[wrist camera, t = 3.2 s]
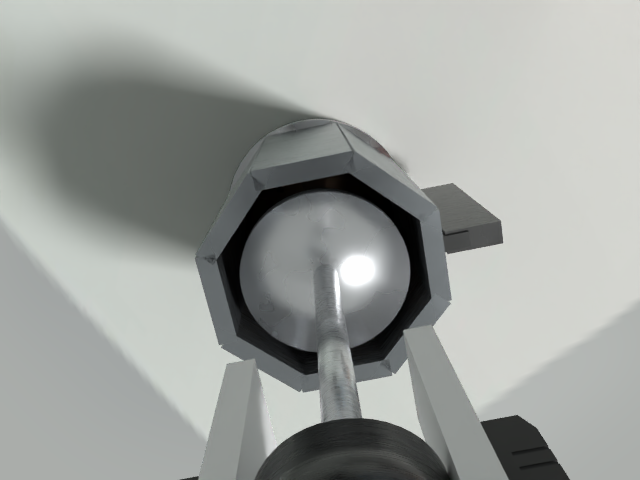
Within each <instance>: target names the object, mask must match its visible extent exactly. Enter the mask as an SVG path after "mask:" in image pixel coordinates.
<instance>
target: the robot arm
mask: <svg viewBox="0 0 640 480" xmlns="http://www.w3.org/2000/svg"><path fill="white" fill-rule="evenodd" d="M403 333H404V339H405V345H406V351H407V357H408V363H409V368H410V374H411V380H412V386H413V392H414V398H415V404H416V410H417V416H418V420H419V423H420V426H421V429H422V432H423V435H424V438H425V441H426V443H427V444H428V445H429V446H430V447H431V448H432V449H433V450H434V451H435V453H436V454H437V455H438V456H439V458H440V459H441V461H442V463H443V464H444V466H445V468H446V470H447V473H448V475H449V478H450V480H570V479H569V478H568V476H567V475H566V473H565V471H564V470H563V468H562V467H561V465H560V464H558V462H557V459H556V457H555V456H554V454H553V453H552V451H551V450H550V449H549V448H548V445H547V443H546V442H545V440H544V439H543V437H542V436H541V434H540V433H539V431H538V429H537V428H536V427H534V426H533V425H531V424H530V423H528V422H527V421H525V420H524V419H522V418H521V417H519V416H518V415H516V416H510V417H505V418H499V419H494V420H488V421H483V422H480V421H479V419H478V417H477V415H476V413H475V411H474V409H473V407H472V405H471V403H470V401H469V399H468V397H467V395H466V393H465V391H464V389H463V387H462V385H461V383H460V381H459V379H458V377H457V375H456V373H455V371H454V369H453V367H452V365H451V363H450V361H449V359H448V357H447V355H446V353H445V351H444V349H443V347H442V345H441V343H440V341H439V339H438V337H437V335H436V333H435V331H434V329H433V327H432V325H427V326H422V327H417V328H411V329H406V330H403ZM276 448H277V442H276V438H275V434H274V430H273V426H272V423H271V419H270V415H269V411H268V407H267V403H266V400H265V396H264V392H263V388H262V384H261V380H260V376H259V373H258V369H257V365H256V361H255V359H250V360H245V361H240V362H234V363H229V364H227V365H226V369H225V374H224V378H223V382H222V386H221V390H220V394H219V398H218V402H217V406H216V410H215V414H214V418H213V422H212V426H211V430H210V434H209V438H208V442H207V446H206V450H205V454H204V458H203V462H202V466H201V471H200V474H199V476H197V477H192V478H187V479H181V480H254V479H255V477H256V475H257V472H258V470H259V469H260V467H261V466H262V464H263V462H264V461H265V460H266V458H267V457H268V456H269V455H270V454H271V453H272V451H273V450H274V449H276Z"/></svg>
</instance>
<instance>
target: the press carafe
mask: <svg viewBox="0 0 640 480" xmlns="http://www.w3.org/2000/svg"><path fill="white" fill-rule="evenodd" d="M319 188H332V189H340V190H345V191H348V192H352V193H355V194H357V195H360V196H362V197H364V198H366V199H368V200H369V201H371V202H373V203H374V204H375V205H377V206H378V207H379V208H381V209H382V210H383V211H384V212H385V213H386V214H387V215H388V216H389V218H390V219H391V220H392V222H393V223H394V224H395V226H396V228H397V229H398V231H399V233H400V235H401V236H402V238H403V240H404V243H405V246H406V248H407V252H408V256H409V261H410V282H409V287H408V291H407V294H406V297H405V300H404V302H403V304H402V306H401V308H400V310H399V312H398V313H397V315H396V316H395V318H394V319H393V320H392V321H391V323H390V324H389V325H388V326H387V327H386V328H385V329H384V330H383V331H381V332H380V333H379V334H378V335H376V336H375V337H373V338H372V339H371V340H369V341H367V342H365V343H363V344H361V345H358V346H356V347H353V348H350V351H351V356H352V362H353V368H354V374H355V380H356V382H361V381H366V380H372V379H377V378H382V377H387V376H392V372H393V373H396V372H397V371H398V370H399V368H400V367H401V366H402V364H403V363H404V362H405V361H406V359H407V358H408V357H407V351H406V345H405V339H404V333H403V330H406V329H411V328H417V327H422V326H427V325H432V326H433V325H434V324H435V323H436V321H437V320H438V319H439V318H440V316H441V315H442V314H443V313H444V311H445V310H446V309H447V307H448V306H449V305H450V304H451V303H450V302H449V301H450V300H452V299H451V292H450V285H449V278H448V270H447V263H446V256H445V252H447V254H450V253H455V252H460V251H465V250H470V249H476V248H481V247H486V246H491V245H496V244H501V243H503V237H502V227H501V221H500V220H499V219H498V218H496V217H495V216H494V215H493V214H491V213H490V212H489V211H487V210H486V209H485V208H484V207H482V206H481V205H480V204H479V203H477V202H476V201H475V200H473V199H472V198H471V197H470V196H468V195H467V194H466V193H465V192H463V191H462V190H461V189H459V188H458V187H457V186H456V185H454V184H453V183H451V184H446V185H441V186H436V187H431V188H426V189H420V188H419V187H418V186H417V185H416V184H415V183H414V182H413V181H412V180H411V179H410V178H409V177H408V176H407V175H406V174H405V173H404V171H403V170H402V169H401V168H400V167H399V166H398V165H397V164H396V163H395V162H394V160H393V159H392V158H391V156H390V155H389V154H388V152H387V151H386V150H385V149H384V148H383V147H382V146H381V145H380V144H379V143H378V142H377V141H376V140H375V139H373V138H372V137H371V136H370V135H368V134H367V133H365V132H363V131H362V130H360V129H358V128H356V127H354V126H352V125H349V124H347V123H343V122H339V121H336V120H328V119H307V120H300V121H296V122H292V123H289V124H286V125H284V126H282V127H279V128H277V129H275V130H274V131H272V132H270V133H269V134H267V135H266V136H264V137H263V138H262V139H261V140H259V141H258V142H257V143H256V144H255V145H254V146H253V147H252V148H251V149H250V150H249V152H248V153H247V154H246V156H245V157H244V158H243V160H242V162H241V163H240V165H239V167H238V169H237V171H236V173H235V175H234V178H233V181H232V184H231V188H230V192H229V195H228V197H227V199H226V201H225V203H224V204H223V206H222V208H221V210H220V212H219V213H218V215H217V217H216V219H215V221H214V222H213V224H212V226H211V228H210V230H209V231H208V233H207V235H206V237H205V239H204V240H203V242H202V244H201V246H200V248H199V249H198V251H197V253H196V257H195V260H196V264H197V267H198V271H199V275H200V278H201V282H202V285H203V289H204V293H205V296H206V300H207V303H208V307H209V310H210V314H211V318H212V321H213V325H214V328H215V332H216V336H217V339H218V343H219V345H222V347H221V348H223V349H224V350H226V351H228V352H230V353H232V354H233V355H235V356H237V357H239V358H240V359H242V360H244V361H245V360H250V359H255V361H256V365H257V368H258V369H260V370H262V371H263V372H265V373H267V374H269V375H270V376H272V377H274V378H276V379H277V380H279V381H281V382H283V383H285V384H286V385H288V386H290V387H292V388H293V389H295V390H297V391H299V392H300V391H301V389H302V391H303V392H308V391H314V390H319V372H318V354H317V352H311V351H305V350H301V349H297V348H295V347H292V346H289V345H287V344H285V343H283V342H281V341H279V340H278V339H276V338H275V337H273V336H272V335H270V334H269V333H268V332H267V331H266V330H264V329H263V328H262V327H261V326H260V324H259V323H258V322H257V321H256V320H255V318H254V317H253V315H252V314H251V312H250V311H249V309H248V307H247V305H246V303H245V300H244V297H243V294H242V289H241V284H240V263H241V258H242V254H243V250H244V247H245V244H246V241H247V239H248V236H249V234H250V232H251V230H252V229H253V227H254V225H255V224H256V223H257V221H258V220H259V219H260V217H261V216H262V215H263V214H264V213H265V212H266V211H267V210H268V209H270V208H271V207H272V206H273V205H275V204H276V203H277V202H279V201H281V200H283V199H284V198H286V197H288V196H291V195H293V194H296V193H298V192H302V191H306V190H311V189H319Z"/></svg>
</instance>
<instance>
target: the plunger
mask: <svg viewBox="0 0 640 480" xmlns="http://www.w3.org/2000/svg"><path fill="white" fill-rule="evenodd" d="M409 282H410V261H409V256H408V252H407V248H406V246H405V243H404V240H403V238H402V236H401V235H400V233H399V231H398V229H397V228H396V226H395V224H394V223H393V222H392V220H391V219H390V218H389V216H388V215H387V214H386V213H385V212H384V211H383V210H382V209H381V208H379V207H378V206H377V205H375V204H374V203H373V202H371V201H369V200H368V199H366V198H364V197H362V196H360V195H357V194H355V193H352V192H348V191H345V190H340V189H332V188H319V189H311V190H306V191H302V192H298V193H296V194H293V195H291V196H288V197H286V198H284V199H283V200H281V201H279V202H277V203H276V204H275V205H273V206H272V207H271V208H270V209H268V210H267V211H266V212H265V213H264V214H263V215H262V216H261V217H260V219H259V220H258V221H257V223H256V224H255V225H254V227H253V229H252V230H251V232H250V234H249V236H248V239H247V241H246V244H245V247H244V250H243V254H242V258H241V263H240V284H241V289H242V294H243V297H244V300H245V303H246V305H247V307H248V309H249V311H250V312H251V314H252V315H253V317H254V318H255V320H256V321H257V322H258V323H259V324H260V326H261V327H262V328H263V329H264V330H266V331H267V332H268V333H269V334H270V335H272V336H273V337H275V338H276V339H278V340H279V341H281V342H283V343H285V344H287V345H289V346H292V347H295V348H297V349H301V350H305V351H311V352H317V354H318V372H319V390H320V408H321V423H319V424H316V425H314V426H311V427H308V428H306V429H304V430H302V431H300V432H298V433H296V434H294V435H293V436H291V437H290V438H288V439H287V440H285V441H284V442H282V443H281V444H280V445H279V446H278V447H277V448H276V449H274V450H273V451H272V453H271V454H270V455H269V456H268V457H267V458H266V460H265V461H264V462H263V464H262V466H261V467H260V469H259V470H258V472H257V475H256V477H255V479H254V480H450V478H449V475H448V473H447V470H446V468H445V466H444V464H443V463H442V461H441V459H440V458H439V456H438V455H437V454H436V453H435V451H434V450H433V449H432V448H431V447H430V446H429V445H428V444H427V443H426V442H424V441H423V440H422V439H421V438H419V437H418V436H416V435H415V434H413V433H412V432H410V431H408V430H406V429H404V428H402V427H399V426H396V425H393V424H391V423H388V422H383V421H379V420H374V419H364V418H362V415H361V409H360V403H359V397H358V391H357V386H356V380H355V374H354V368H353V362H352V356H351V351H350V348H353V347H356V346H358V345H361V344H363V343H365V342H367V341H369V340H371V339H372V338H373V337H375V336H376V335H378V334H379V333H380V332H381V331H383V330H384V329H385V328H386V327H387V326H388V325H389V324H390V323H391V321H392V320H393V319H394V318H395V316H396V315H397V313H398V312H399V310H400V308H401V306H402V304H403V302H404V300H405V297H406V294H407V291H408V287H409Z"/></svg>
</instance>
